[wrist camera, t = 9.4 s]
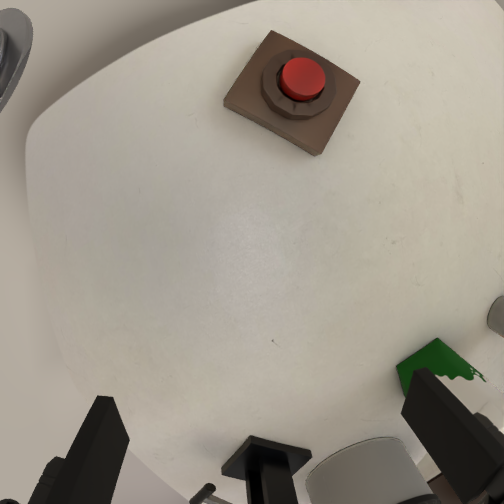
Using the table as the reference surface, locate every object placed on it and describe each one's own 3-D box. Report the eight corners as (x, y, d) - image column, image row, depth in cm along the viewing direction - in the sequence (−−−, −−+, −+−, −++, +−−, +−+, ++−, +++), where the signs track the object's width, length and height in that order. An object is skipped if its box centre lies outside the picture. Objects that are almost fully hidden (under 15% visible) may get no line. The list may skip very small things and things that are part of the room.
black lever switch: (221, 467, 36) (222, 542, 23) (250, 435, 35) (259, 519, 21) (278, 480, 38) (290, 548, 24) (310, 450, 36) (333, 523, 23)
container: (323, 442, 36) (352, 523, 21) (422, 428, 38) (463, 485, 23) (292, 502, 40) (307, 565, 25) (380, 489, 42) (404, 540, 27)
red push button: (271, 87, 23) (274, 81, 21) (290, 58, 22) (295, 50, 21) (308, 108, 23) (313, 103, 22) (326, 78, 23) (332, 71, 21)
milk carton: (388, 364, 34) (474, 470, 14) (442, 328, 34) (541, 407, 14) (400, 403, 36) (467, 497, 16) (448, 370, 35) (526, 446, 16)
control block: (223, 106, 26) (223, 94, 22) (268, 39, 25) (273, 20, 21) (314, 156, 28) (327, 152, 24) (352, 87, 26) (368, 75, 23)
